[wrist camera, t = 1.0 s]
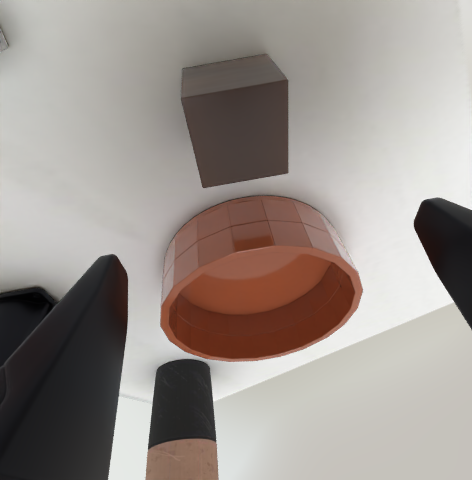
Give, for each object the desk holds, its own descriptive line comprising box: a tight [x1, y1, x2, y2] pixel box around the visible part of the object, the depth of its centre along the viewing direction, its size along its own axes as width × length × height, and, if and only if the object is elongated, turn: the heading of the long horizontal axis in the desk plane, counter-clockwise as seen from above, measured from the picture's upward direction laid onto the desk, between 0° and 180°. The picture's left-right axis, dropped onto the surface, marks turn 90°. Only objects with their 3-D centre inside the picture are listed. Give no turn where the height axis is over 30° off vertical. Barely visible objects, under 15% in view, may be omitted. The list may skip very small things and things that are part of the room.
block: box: [181, 54, 288, 188], centre depth 15 cm, size 4×4×4 cm
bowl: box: [160, 196, 363, 362], centre depth 24 cm, size 15×15×5 cm
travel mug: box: [146, 360, 218, 480], centre depth 32 cm, size 8×8×20 cm
